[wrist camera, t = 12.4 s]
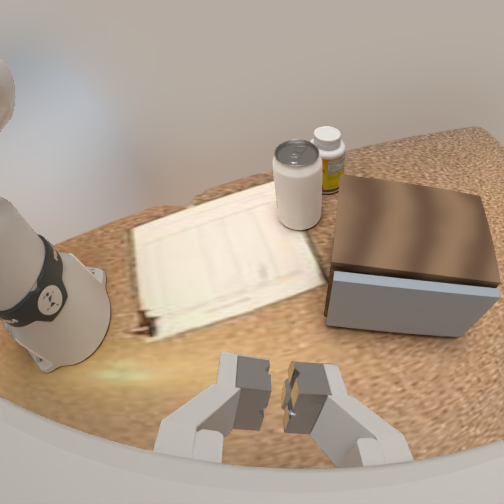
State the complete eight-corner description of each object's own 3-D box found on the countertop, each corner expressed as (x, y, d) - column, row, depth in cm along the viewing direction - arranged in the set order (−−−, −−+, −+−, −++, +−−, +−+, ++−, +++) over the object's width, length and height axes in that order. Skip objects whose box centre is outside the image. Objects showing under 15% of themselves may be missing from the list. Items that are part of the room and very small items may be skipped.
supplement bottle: (304, 177, 53) (302, 126, 45) (334, 170, 53) (336, 120, 45) (316, 199, 50) (317, 147, 42) (348, 191, 50) (353, 139, 42)
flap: (325, 325, 37) (333, 280, 28) (326, 317, 37) (334, 270, 29) (459, 337, 33) (500, 297, 24) (459, 329, 33) (498, 288, 25)
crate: (323, 315, 38) (331, 261, 29) (334, 238, 45) (339, 174, 35) (456, 329, 34) (500, 282, 24) (450, 253, 41) (480, 196, 31)
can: (271, 225, 48) (262, 162, 38) (287, 196, 51) (281, 134, 41) (313, 236, 46) (314, 173, 36) (326, 205, 49) (328, 142, 39)
